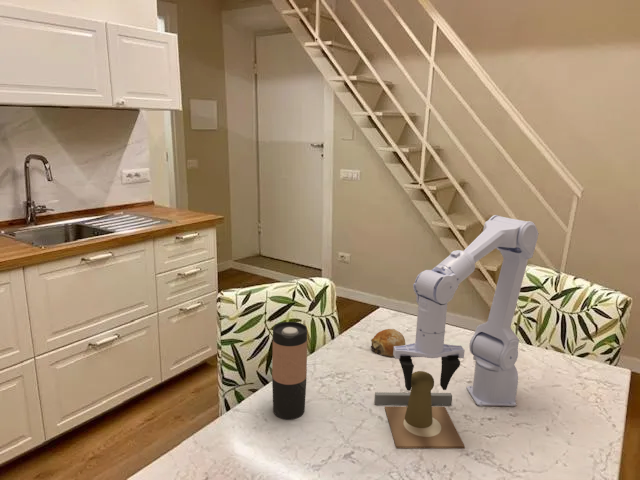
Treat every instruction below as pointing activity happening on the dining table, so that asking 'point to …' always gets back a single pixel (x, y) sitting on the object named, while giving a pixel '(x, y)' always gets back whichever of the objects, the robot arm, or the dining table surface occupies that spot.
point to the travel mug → (289, 369)
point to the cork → (420, 400)
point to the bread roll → (387, 342)
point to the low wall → (403, 398)
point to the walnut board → (423, 430)
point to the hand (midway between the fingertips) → (425, 387)
